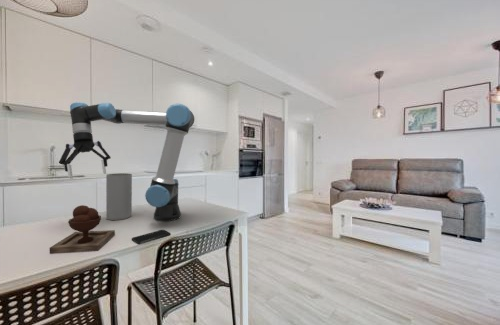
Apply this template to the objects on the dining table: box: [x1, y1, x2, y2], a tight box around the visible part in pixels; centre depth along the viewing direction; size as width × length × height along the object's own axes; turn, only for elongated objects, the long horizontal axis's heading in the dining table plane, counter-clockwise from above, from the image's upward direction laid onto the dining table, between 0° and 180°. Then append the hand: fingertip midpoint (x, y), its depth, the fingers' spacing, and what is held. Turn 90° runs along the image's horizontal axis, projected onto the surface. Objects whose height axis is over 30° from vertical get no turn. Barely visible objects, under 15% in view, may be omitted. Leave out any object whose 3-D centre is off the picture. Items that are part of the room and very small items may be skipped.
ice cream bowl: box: [67, 204, 102, 244], centre depth 88 cm, size 11×11×15 cm
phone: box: [131, 229, 171, 245], centre depth 97 cm, size 8×1×15 cm
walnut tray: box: [49, 229, 116, 255], centre depth 89 cm, size 16×16×2 cm
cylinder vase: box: [105, 172, 133, 221], centre depth 123 cm, size 12×12×25 cm
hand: (88, 175), depth 103 cm, fingers open, 13 cm apart
